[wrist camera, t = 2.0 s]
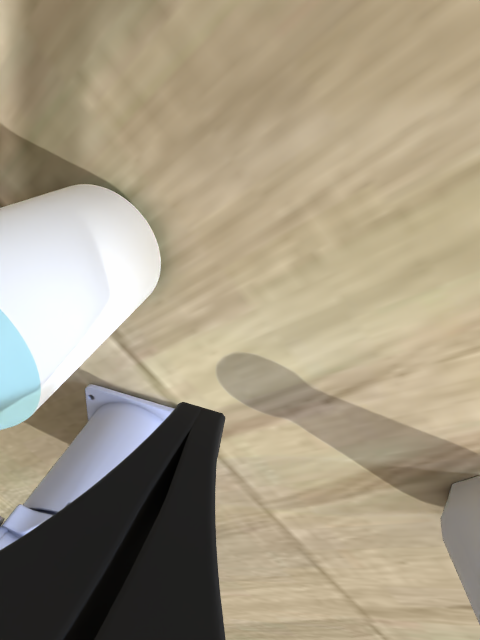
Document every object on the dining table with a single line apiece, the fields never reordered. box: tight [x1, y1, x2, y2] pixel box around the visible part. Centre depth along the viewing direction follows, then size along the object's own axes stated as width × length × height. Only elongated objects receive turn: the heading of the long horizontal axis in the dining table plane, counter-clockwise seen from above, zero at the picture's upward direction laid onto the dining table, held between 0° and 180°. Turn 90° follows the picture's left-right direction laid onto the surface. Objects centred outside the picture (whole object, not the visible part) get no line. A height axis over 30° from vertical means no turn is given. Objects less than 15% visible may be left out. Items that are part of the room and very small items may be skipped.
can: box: [0, 184, 161, 430], centre depth 16 cm, size 7×7×12 cm
